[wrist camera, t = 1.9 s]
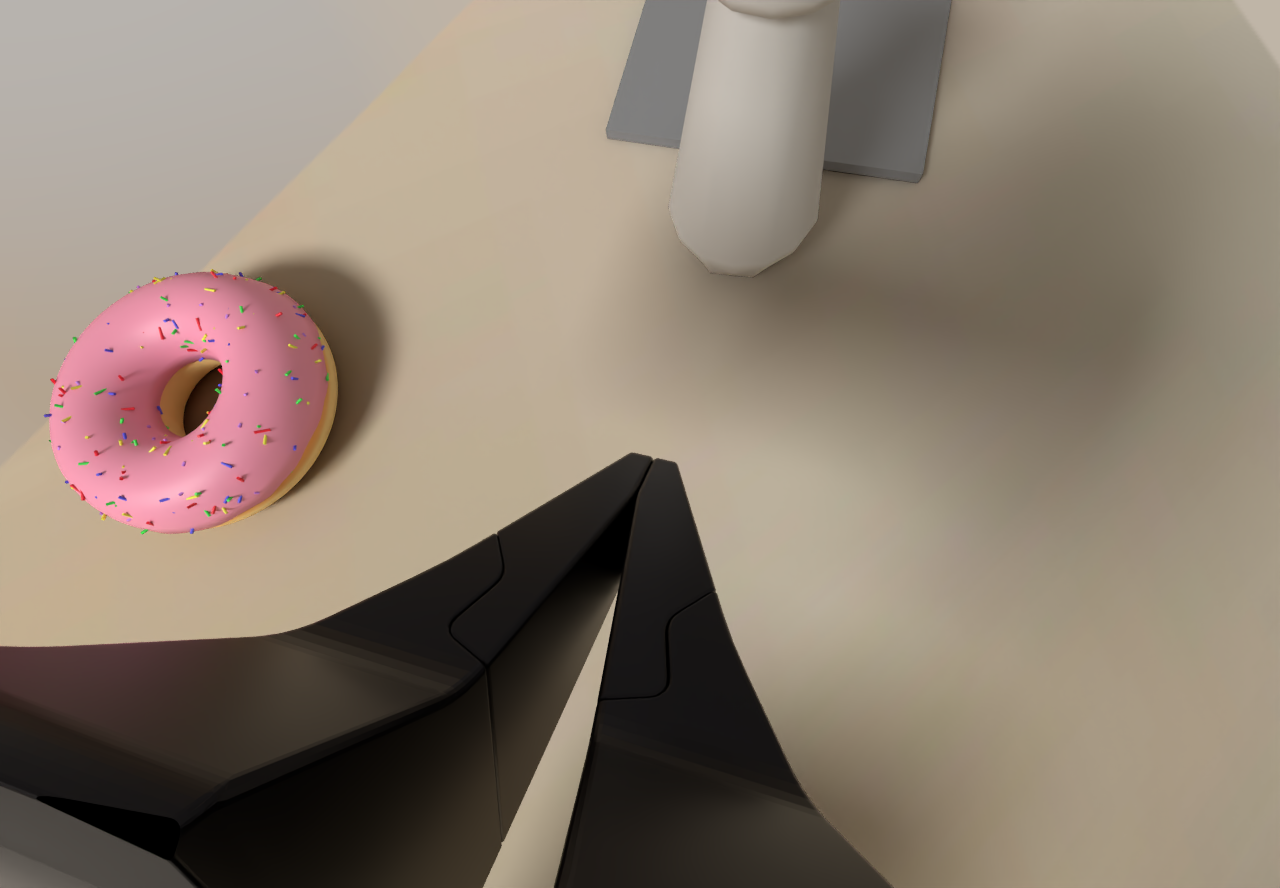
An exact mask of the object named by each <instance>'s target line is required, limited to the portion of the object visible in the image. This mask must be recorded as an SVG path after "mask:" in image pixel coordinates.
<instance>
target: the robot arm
mask: <svg viewBox="0 0 1280 888" xmlns="http://www.w3.org/2000/svg"><path fill="white" fill-rule="evenodd" d="M617 591H618V595H617V600H616V605H615V611H614V616H613V621H612V627H611V632H610V637H609V643H608V648H607V653H606V659H605V664H604V669H603V675H602V680H601V685H600V691H599V696H598V702H597V707H596V712H595V717H594V722H593V727H592V732H591V737H590V742H589V746H588V751H587V755H586V759H585V763H584V767H583V771H582V775H581V779H580V784H579V788H578V792H577V796H576V800H575V804H574V808H573V812H572V816H571V820H570V824H569V828H568V832H567V836H566V840H565V844H564V848H563V852H562V856H561V860H560V864H559V869H558V873H557V877H556V881H555V885H554V888H894V887H893V886H892V885H891V884H890V883H889V882H888V881H887V880H886V879H885V878H884V877H883V876H882V875H881V874H880V873H879V872H878V871H877V870H876V869H875V868H874V867H873V866H872V865H871V864H870V863H869V862H868V861H867V860H866V859H865V858H864V857H863V856H862V855H861V854H860V853H859V852H858V851H857V850H856V849H855V848H854V847H853V846H852V845H851V844H850V843H849V842H848V841H847V840H846V839H845V838H844V837H843V836H842V835H841V834H840V833H839V832H838V831H837V830H836V829H835V828H834V827H833V826H832V825H831V824H830V823H829V822H828V821H827V820H826V818H825V817H824V816H823V815H822V814H821V813H820V812H819V810H818V809H817V808H816V807H815V805H814V804H813V803H812V801H811V800H810V798H809V797H808V795H807V794H806V793H805V791H804V790H803V788H802V786H801V785H800V783H799V781H798V780H797V778H796V776H795V774H794V772H793V770H792V768H791V766H790V764H789V762H788V760H787V758H786V756H785V754H784V752H783V750H782V748H781V745H780V743H779V741H778V739H777V737H776V735H775V733H774V731H773V728H772V726H771V724H770V722H769V720H768V718H767V716H766V713H765V711H764V709H763V707H762V705H761V703H760V701H759V698H758V696H757V694H756V692H755V690H754V688H753V686H752V683H751V681H750V679H749V677H748V675H747V673H746V670H745V668H744V666H743V663H742V661H741V659H740V656H739V654H738V652H737V650H736V647H735V645H734V643H733V640H732V637H731V634H730V632H729V629H728V626H727V623H726V620H725V617H724V614H723V611H722V608H721V605H720V602H719V598H718V595H717V593H715V592H716V589H715V586H714V583H713V579H712V576H711V573H710V570H709V566H708V563H707V560H706V557H705V553H704V550H703V547H702V543H701V540H700V537H699V534H698V530H697V527H696V524H695V521H694V517H693V514H692V511H691V507H690V504H689V501H688V498H687V494H686V491H685V488H684V484H683V481H682V478H681V475H680V471H679V468H678V465H677V464H676V463H675V462H672V461H667V460H663V459H659V458H656V459H654V460H653V458H652V457H650V456H646V455H642V454H637V453H630V454H628V455H626V456H624V457H623V458H621V459H619V460H618V461H616V462H614V463H612V464H611V465H609V466H607V467H606V468H604V469H602V470H601V471H599V472H597V473H596V474H594V475H592V476H591V477H589V478H587V479H585V480H584V481H582V482H580V483H579V484H577V485H575V486H574V487H572V488H570V489H569V490H567V491H565V492H564V493H562V494H560V495H558V496H557V497H555V498H553V499H552V500H550V501H548V502H547V503H545V504H543V505H542V506H540V507H538V508H537V509H535V510H533V511H531V512H530V513H528V514H526V515H525V516H523V517H521V518H520V519H518V520H516V521H515V522H513V523H511V524H510V525H508V526H506V527H504V528H503V529H501V530H499V531H498V532H497V535H496V534H492V535H491V536H489V537H487V538H486V539H484V540H482V541H480V542H479V543H477V544H475V545H474V546H472V547H470V548H468V549H466V550H465V551H463V552H461V553H459V554H457V555H456V556H454V557H452V558H450V559H448V560H447V561H445V562H443V563H440V564H438V565H436V566H434V567H432V568H430V569H428V570H426V571H424V572H422V573H420V574H418V575H416V576H414V577H412V578H410V579H408V580H406V581H404V582H402V583H399V584H397V585H395V586H393V587H391V588H389V589H387V590H385V591H382V592H380V593H378V594H376V595H374V596H372V597H370V598H368V599H365V600H363V601H361V602H359V603H357V604H355V605H353V606H351V607H348V608H346V609H344V610H342V611H340V612H338V613H336V614H334V615H331V616H329V617H327V618H325V619H322V620H320V621H318V622H315V623H313V624H310V625H307V626H304V627H301V628H298V629H295V630H291V631H287V632H283V633H279V634H272V635H266V636H257V637H240V638H220V639H199V640H179V641H159V642H139V643H119V644H99V645H79V646H55V647H9V646H0V888H483V886H484V884H485V882H486V879H487V877H488V875H489V873H490V871H491V868H492V866H493V864H494V862H495V860H496V857H497V855H498V853H499V851H500V849H501V846H502V844H501V842H503V841H504V839H505V837H506V835H507V833H508V831H509V828H510V826H511V824H512V822H513V820H514V818H515V815H516V813H517V811H518V809H519V807H520V804H521V802H522V800H523V798H524V796H525V793H526V791H527V789H528V787H529V785H530V782H531V780H532V778H533V776H534V774H535V771H536V769H537V767H538V765H539V763H540V760H541V758H542V756H543V754H544V752H545V749H546V747H547V745H548V743H549V741H550V738H551V736H552V734H553V732H554V730H555V727H556V725H557V723H558V721H559V719H560V716H561V714H562V712H563V710H564V708H565V705H566V703H567V701H568V699H569V697H570V694H571V692H572V690H573V688H574V686H575V684H576V681H577V679H578V677H579V675H580V673H581V670H582V668H583V666H584V664H585V662H586V659H587V657H588V655H589V653H590V651H591V648H592V646H593V644H594V642H595V640H596V637H597V635H598V633H599V631H600V629H601V626H602V624H603V622H604V620H605V618H606V615H607V613H608V611H609V609H610V607H611V604H612V602H613V600H614V598H615V596H616V593H617Z"/></svg>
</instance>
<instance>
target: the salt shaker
mask: <svg viewBox="0 0 1280 888" xmlns="http://www.w3.org/2000/svg"><path fill="white" fill-rule="evenodd" d="M839 7H840V0H707V3H706V9H705V14H704V19H703V25H702V30H701V35H700V41H699V46H698V51H697V57H696V62H695V67H694V73H693V78H692V83H691V89H690V94H689V99H688V105H687V110H686V115H685V121H684V126H683V131H682V137H681V142H680V147H679V153H678V158H677V163H676V169H675V174H674V179H673V184H672V190H671V195H670V200H669V206H668V207H669V211H670V215H671V218H672V220H673V223H674V226H675V229H676V232H677V234H678V237H679V240H680V242H681V243H682V244H683V245H684V246H685V247H687V248H688V249H689V250H690V251H691V252H692V253H693V254H694V255H695V256H696V257H697V258H698V259H699V260H700V261H701V262H702V263H703V264H704V265H705V267H706V268H707V269H708V271H709V272H710V273H715V274H724V275H734V276H744V277H754V276H756V275H757V274H759V273H760V272H761V271H763V270H764V269H766V268H768V267H769V266H771V265H773V264H774V263H776V262H778V261H780V260H781V259H783V258H785V257H786V256H788V255H790V254H792V253H793V252H794V251H795V250H796V249H797V247H798V246H799V245H800V243H801V242H802V240H803V239H804V238H805V236H806V235H807V234H808V232H809V231H810V230H811V228H812V227H813V226H814V224H815V223H816V221H817V220H818V211H819V201H820V191H821V181H822V172H823V162H824V152H825V143H826V133H827V123H828V113H829V104H830V94H831V84H832V75H833V65H834V55H835V45H836V36H837V26H838V16H839Z"/></svg>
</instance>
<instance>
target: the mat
mask: <svg viewBox="0 0 1280 888" xmlns="http://www.w3.org/2000/svg"><path fill="white" fill-rule="evenodd" d="M706 3H707V0H646V1H645V4H644V7H643V11H642V14H641V17H640V20H639V24H638V27H637V30H636V33H635V37H634V40H633V43H632V46H631V50H630V53H629V56H628V59H627V63H626V66H625V69H624V72H623V76H622V79H621V82H620V85H619V89H618V92H617V95H616V98H615V101H614V105H613V108H612V111H611V114H610V118H609V121H608V124H607V127H606V133H607V138H608V139H615V140H622V141H629V142H636V143H643V144H650V145H657V146H664V147H671V148H678V149H679V147H680V142H681V137H682V131H683V126H684V121H685V115H686V110H687V105H688V99H689V94H690V89H691V83H692V78H693V73H694V67H695V62H696V57H697V51H698V46H699V41H700V35H701V30H702V25H703V19H704V14H705V9H706ZM950 6H951V0H840V7H839V16H838V26H837V36H836V45H835V55H834V65H833V75H832V84H831V94H830V104H829V113H828V123H827V133H826V143H825V152H824V162H823V169H824V170H831V171H838V172H845V173H852V174H859V175H866V176H873V177H880V178H887V179H894V180H901V181H908V182H915V183H918V182H919V180H920V178H921V177H922V175H923V171H924V165H925V159H926V152H927V146H928V140H929V134H930V128H931V122H932V116H933V110H934V104H935V98H936V91H937V85H938V79H939V73H940V67H941V61H942V55H943V49H944V43H945V37H946V30H947V24H948V18H949V12H950Z"/></svg>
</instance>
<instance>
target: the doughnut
mask: <svg viewBox="0 0 1280 888" xmlns="http://www.w3.org/2000/svg"><path fill="white" fill-rule="evenodd" d="M239 275H240V276H235V275H230V274H227V273H226V274H223V273H218V272H216V271H215V270H213V269H211V272H196V273H188V274H181V275H178V273H177V272H175V276H170V277H167V278H165V277H163V278H162V279H158V278H156V277H154V279H155V280H153V281H152V283H149V284H146V285H144V286H142V287H140V286H137V288H138V289H136V290H134V291H133V290H130V292H129V294H127V295H126V296H124V297H122V298H121V299H120V300H118V301H116V302H115V303H114V304H112V305H111V306H110V307H108V308H107V309H106V310H105V311H103V312H102V313H101V314H100V315H99V316H98V317H97V318H96V319H95V320H94V321H93V322H92V323H91V324H90V325H89V326H88V327H87V328H86V329H85V330H84V332H83V333H82V334H81V335H80V337H79V338H78V339H77V338H76V337H73V340H74V345H73V346H72V348H71V350H70V351H69V353H68V355H67V356H66V358H65V359H64V362H63V364H62V366H61V369H60V371H59V373H58V376H57V379H56V381H55V380H54V379H50V380H51V381H52V382H53V383H54V389H53V393H52V398H51V404H50V414H45V415H44V417H50V418H49V421H50V437H51V440H49V441H50V442H51V444H52V449H53V452H54V456H55V459H56V461H57V464H58V466H59V468H60V470H61V472H62V474H63V475H64V477H65V478H66V480H67V481H65V483H69V484H70V487H71V488H72V489H74V490H75V491H76V492H77V493H78V494H79V495H80V496H81V500H85V501H87V502H88V503H89V504H90V505H91V506H93V507H94V508H96V509H97V510H98V511H100V515H103V516H102V518H101V520H105V518H106V516H107V515H108V516H109V517H111V518H113V519H115V520H117V521H120V522H122V523H125V524H128V525H131V526H133V527H137V528H141V529H145V530H143V531H142V532H141V534H144V533H145V532H147V531H148V530H149V531H154V532H159V533H166V534H176V533H187V532H190V533H191V534H193V533H194V531H199V530H203V529H209V528H215V527H220V526H224V525H228V524H231V523H234V522H237V521H240V520H242V519H245V518H247V517H249V516H252V515H254V514H256V513H258V512H259V511H261V510H263V509H265V508H266V507H268V506H270V505H271V504H273V503H274V502H275V501H277V500H278V499H280V498H281V497H282V496H283V495H285V494H286V493H287V492H288V491H289V490H290V489H292V488H293V487H294V486H295V485H296V484H297V483H298V482H299V481H300V480H301V478H302V477H303V476H304V475H305V474H306V473H307V471H308V470H309V469H310V467H311V466H312V465H313V463H314V462H315V460H316V459H317V457H318V456H319V454H320V452H321V450H322V449H323V447H324V445H325V443H326V440H327V438H328V436H329V433H330V430H331V428H332V424H333V421H334V417H335V413H336V407H337V398H338V380H337V372H336V366H335V362H334V358H333V355H332V352H331V350H330V347H329V345H328V343H327V341H326V339H325V337H324V336H323V334H322V333H321V331H320V330H319V328H318V327H317V325H316V324H315V323H314V322H313V321H312V319H311V318H310V317H309V315H308V314H307V313H306V312H305V311H304V310H303V308H302V307H304V305H299V304H298V303H297V302H296V301H295V300H293V299H292V298H291V297H290V296H288V295H287V294H285V293H286V292H285V291H280V290H279V289H277V287H273V286H271V285H269V284H266V283H264V282H260V280H261V279H262V278H261V277H259V278H257V279H255V280H253V279H250V278H246V277H243V275H242V273H241V272H240V273H239ZM220 365H222V370H223V371H222V370H221V369H220V368H219V369H218V371H219V372H220V373H221V374H222V375H223V380H222V384H218V386H219V387H221V386H222V387H221V391H220V390H219V389H218V388H216V389H215V391H217V392H218V393H219V397H218V400H217V402H216V404H215V405H214V408H213V409H212V411H207V414H209V415H208V417H207V418H206V419H205V420H204V421H203V423H202V424H201V425H200V426H199V427H197V428H196V429H195V430H194V431H191V433H190V434H188V435H187V436H186V434H185V431H184V426H183V416H184V410H185V406H186V403H187V400H188V398H189V396H190V394H191V392H192V390H193V389H194V387H195V386H196V384H197V383H198V382H199V381H200V380H201V379H202V378H203V377H204V376H205V375H206V374H207V373H208V372H210V371H211V370H212V369H214V368H216V367H218V366H220Z"/></svg>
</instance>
